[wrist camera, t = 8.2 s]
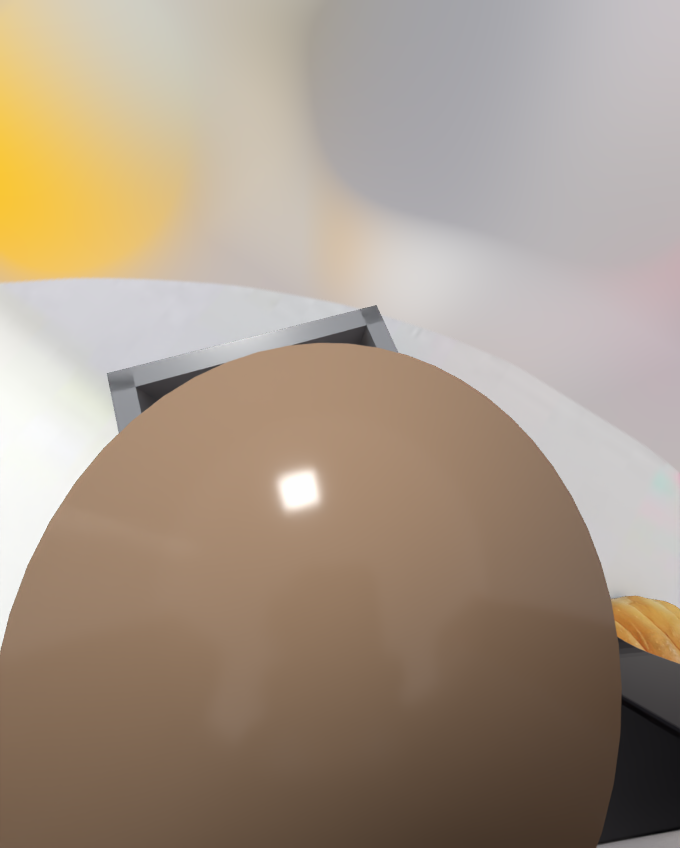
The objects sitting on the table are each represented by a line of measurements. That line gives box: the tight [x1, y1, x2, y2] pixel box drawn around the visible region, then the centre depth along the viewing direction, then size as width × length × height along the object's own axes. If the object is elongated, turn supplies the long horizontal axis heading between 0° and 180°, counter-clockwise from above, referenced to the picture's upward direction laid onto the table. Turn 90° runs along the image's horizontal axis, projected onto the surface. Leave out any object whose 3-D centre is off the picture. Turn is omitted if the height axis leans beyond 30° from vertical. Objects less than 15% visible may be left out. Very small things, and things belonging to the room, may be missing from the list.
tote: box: [107, 305, 398, 433], centre depth 16 cm, size 22×16×4 cm
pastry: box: [611, 596, 680, 664], centre depth 16 cm, size 9×7×4 cm
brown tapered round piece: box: [0, 343, 622, 848], centre depth 9 cm, size 6×6×13 cm
